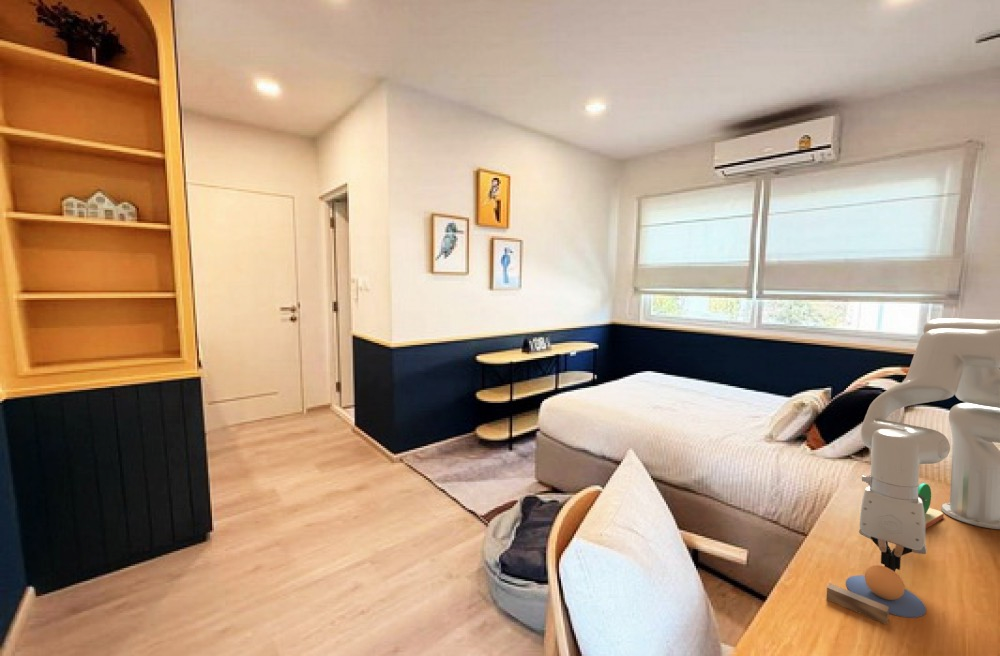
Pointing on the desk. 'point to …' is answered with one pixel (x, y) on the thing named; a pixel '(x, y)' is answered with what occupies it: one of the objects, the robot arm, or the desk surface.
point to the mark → (901, 607)
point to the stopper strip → (858, 603)
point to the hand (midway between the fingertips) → (890, 569)
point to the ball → (884, 582)
